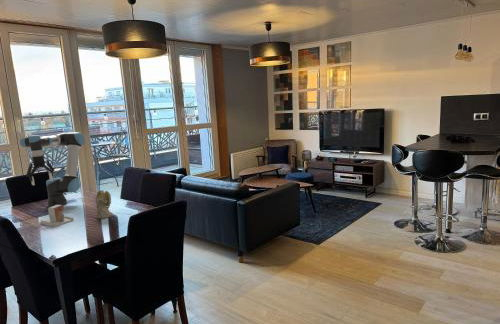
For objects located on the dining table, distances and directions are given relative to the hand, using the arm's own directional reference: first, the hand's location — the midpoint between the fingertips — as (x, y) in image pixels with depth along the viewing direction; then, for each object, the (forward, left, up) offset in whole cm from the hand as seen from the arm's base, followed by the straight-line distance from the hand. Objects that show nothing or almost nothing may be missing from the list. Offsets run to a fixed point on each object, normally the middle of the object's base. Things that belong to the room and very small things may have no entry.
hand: (42, 182), depth 261 cm
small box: (+6, +24, -25) cm, 35 cm away
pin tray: (+6, +24, -26) cm, 36 cm away
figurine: (-16, +48, -26) cm, 57 cm away
